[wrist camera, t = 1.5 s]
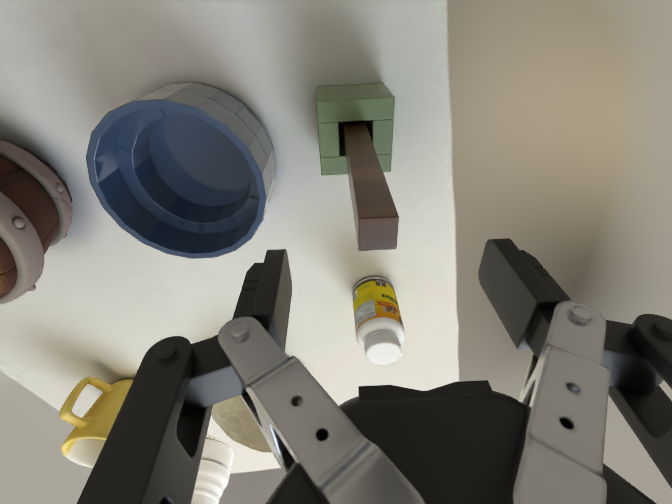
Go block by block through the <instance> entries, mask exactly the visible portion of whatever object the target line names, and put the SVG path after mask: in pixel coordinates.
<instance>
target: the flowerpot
mask: <svg viewBox="0 0 672 504" xmlns="http://www.w3.org/2000/svg"><path fill="white" fill-rule="evenodd" d="M71 203H72V198H71V195H70V193H69V190H68V188H67V185H66V183H65V182H64V181H61V180H59V179H58V177H57V172H56V171H55V170H54V169H53V168H52V167H51V166H50V165H48V164H47V163H45V162H41V161H39V160H38V159H37V157H36V156H35V155H34V154H33V153H32V152H30V151H29V150H27V149H25V148H23V147H20V146H18V145H15V144H12V143H9V142H6V141H3V140H0V304H4V303H7V302H10V301H12V300H14V299H16V298H18V297H20V296H22V295H23V294H25V293H26V292H27V291H33V290H35V289H36V286H35V283H36V282H37V281H38V279H39V278H40V276H41V274H42V271H43V266H44V254H45V253H46V251H47V249H48V247H50V246H53V245H54V244H56V243H58V242H59V241H60V240H61V239H62V238H65V237H66V236H67V231H68V229H69V226H70V224H71V220H72V205H71Z"/></svg>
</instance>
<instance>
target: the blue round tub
mask: <svg viewBox="0 0 672 504" xmlns="http://www.w3.org/2000/svg"><path fill="white" fill-rule="evenodd" d="M86 160H87V167H88V173H89V179H90V183H91V185H92V187H93V189H94V191H95V193H96V195H97V197H98V199H99V201H100V203H101V205H102V206H103V208H104V209H105V210H106V211H107V213H108V214H109V215H110V216H111V217H112V218H113V219H114V220H115V221H116V223H117V224H118V225H119V226H120V227H121V228H122V229H124V230H125V231H126V232H128V233H129V234H131V235H132V236H133V237H135V238H136V239H138V240H139V241H140V242H142V243H144V244H146V245H148V246H150V247H153V248H155V249H157V250H160V251H162V252H164V253H167V254H171V255H176V256H181V257H187V258H213V257H218V256H221V255H224V254H227V253H230V252H232V251H235V250H237V249H238V248H240V247H241V246H242V245H243V244H245V243H246V242H247V241H249V240H250V239H251V238H252V237H253V236H254V234H255V232H256V231H257V229H258V228H259V226H260V224H261V223H262V221H263V218H264V215H265V212H266V208H267V205H268V202H269V198H270V195H271V192H272V188H273V183H274V178H275V172H276V163H275V157H274V151H273V146H272V144H271V142H270V140H269V138H268V136H267V134H266V132H265V130H264V128H263V125H261V123H260V122H259V121H258V120H257V118H256V117H255V116H254V115H253V114H252V113H251V112H250V111H249V110H248V108H247V107H246V106H245V105H244V104H243V103H241V102H239V101H238V100H236V99H235V98H233V97H231V96H230V95H228V94H227V93H225V92H223V91H222V90H220V89H216V88H213V87H209V86H206V85H202V84H198V83H176V84H168V85H166V86H163V87H161V88H159V89H157V90H155V91H153V92H150V93H148V94H146V95H144V96H142V97H140V98H138V99H136V100H133V101H131V102H129V103H127V104H125V105H123V106H121V107H118V108H116V109H114V110H112V111H110V112H108V113H107V114H106V115H105V116H104V118H103V119H102V120H101V121H100V123H99V124H98V125H97V126H96V127H95V129H94V130H93V131H92V133H91V137H90V142H89V146H88V150H87V154H86Z"/></svg>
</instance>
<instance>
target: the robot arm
mask: <svg viewBox="0 0 672 504" xmlns="http://www.w3.org/2000/svg"><path fill="white" fill-rule="evenodd" d="M479 281H480V284H481V286H482V288H483V290H484V291H485V293H486V295H487V297H488V299H489V300H490V302H491V304H492V305H493V307H494V309H495V311H496V313H497V314H498V316H499V318H500V320H501V322H502V323H503V325H504V327H505V329H506V330H507V332H508V334H509V336H510V337H511V339H512V341H513V342H514V344H515V346H516V348H517V349H531V350H532V352H533V355H532V357H531V360H530V363H529V366H528V370H527V373H526V377H525V380H524V383H523V386H522V390H521V393H520V396H519V399H518V400H516V399H514V398H512V397H510V396H507V395H505V394H502V393H499V392H495V391H492V389H491V387H490V385H489V382H488V381H487V380H486V381H465V382H454V383H451V384H448V385H445V386H441V387H438V388H435V389H432V390H429V391H419V390H414V389H409V388H403V387H398V386H393V385H381V386H360V387H359V396H358V397H355V398H353V399H350V400H348V401H346V402H344V403H343V404H341V405H339V406H338V405H337V404H336V403H335V402H334V400H333V399H332V398H331V397H330V396H329V395H328V393H327V392H326V391H325V390H324V389H323V388H322V386H321V385H320V384H319V383H318V382H317V381H316V379H315V378H314V377H313V376H312V375H311V374H310V372H309V371H308V370H307V369H306V368H305V366H304V365H303V364H302V363H301V362H300V361H299V360H298V359H297V358H296V357H295V356H292V357H290V358H289V357H288V356H287V355H286V354H285V353H284V352H285V344H286V336H287V327H288V319H289V311H290V303H291V295H292V281H291V274H290V268H289V262H288V256H287V251H286V249H280V250H267V252H266V256H265V260H264V263H254V264H253V266H252V267H251V268H250V269H249V270H248V271H247V273H246V276H245V280H244V283H243V286H242V291H241V293H240V296H239V299H238V302H237V306H236V309H235V312H234V316H233V319H232V320H231V321H229V322H227V323H226V324H225V325H224V326H223V327H222V328H221V330H220V331H219V334H218V335H217V336H214V337H212V338H209V339H206V340H203V341H200V342H196V343H193V344H191V343H190V342H189V340H188V339H186V338H184V337H181V336H173V337H168V338H165V339H163V340H161V341H159V342H157V343H156V344H154V345H153V346H152V347H151V348H150V349H149V350H148V351H147V353H146V354H145V356H144V358H143V360H142V362H141V365H140V367H139V369H138V371H137V373H136V375H135V378H134V380H133V382H132V384H131V386H130V389H129V391H128V393H127V395H126V397H125V400H124V402H123V404H122V406H121V408H120V410H119V413H118V415H117V417H116V419H115V421H114V424H113V426H112V428H111V430H110V432H109V435H108V437H107V439H106V441H105V443H104V445H103V448H102V450H101V452H100V454H99V456H98V459H97V461H96V463H95V465H94V467H93V469H92V472H91V474H90V476H89V478H88V480H87V483H86V485H85V487H84V489H83V491H82V494H81V496H80V498H79V500H78V502H77V504H191V501H192V497H193V492H194V488H195V483H196V479H197V474H198V470H199V466H200V461H201V457H202V452H203V448H204V443H205V439H206V434H207V430H208V425H209V421H210V417H211V412H212V408H213V404H216V403H219V402H222V401H224V400H227V399H230V398H233V397H236V396H238V395H240V397H241V398H242V400H243V402H244V403H245V405H246V407H247V408H248V410H249V412H250V413H251V415H252V416H253V418H254V420H255V421H256V423H257V425H258V426H259V428H260V430H261V431H262V433H263V435H264V437H265V438H266V440H267V443H268V445H269V447H270V449H271V451H272V452H273V454H274V456H275V458H276V460H277V461H278V463H279V465H280V466H281V468H282V469H283V471H284V473H285V474H286V475H285V477H284V478H283V479H282V481H281V483H280V484H279V485H278V487H277V488H276V489H275V491H274V492H273V494H272V495H271V496H270V498H269V499H268V501H267V502H266V504H656V503H655V502H654V501H652V500H651V499H649V498H648V497H647V496H646V495H644V494H643V493H642V492H640V491H639V490H638V489H636V488H635V487H634V486H632V485H631V484H630V483H629V482H627V481H626V480H625V479H623V478H622V477H621V476H619V475H618V474H617V473H615V472H614V471H613V470H611V469H610V468H609V467H607V466H606V465H605V464H604V463H603V454H604V442H605V429H606V416H607V403H608V394H609V396H610V397H611V399H612V400H613V402H614V403H615V405H616V406H617V407H618V409H619V411H620V412H621V414H622V415H623V416H624V418H625V420H626V421H627V422H628V424H629V425H630V427H631V429H632V430H633V431H634V433H635V434H636V436H637V437H638V439H639V440H640V442H641V443H642V445H643V446H644V448H645V449H646V451H647V452H648V454H649V455H650V457H651V458H652V460H653V461H654V463H655V464H656V466H657V467H658V469H659V470H660V472H661V473H662V475H663V476H664V478H665V479H666V481H667V482H668V484H669V485H670V487H671V488H672V401H671V400H670V398H669V397H668V396H667V395H666V394H665V393H664V391H663V390H662V389H661V388H660V386H659V384H660V383H661V382H662V381H663V380H665V382H666V383H667V384H668V385H669V386H670V387H671V389H672V320H671V319H668V318H665V317H663V316H659V315H654V314H643V315H640V316H638V317H637V318H636V320H635V321H634V322H633V324H626V323H621V322H615V321H609V320H605V318H604V317H603V316H602V315H601V314H600V313H599V312H598V311H597V310H596V309H594V308H592V307H591V306H588V305H586V304H584V303H581V302H577V301H572V300H571V299H570V298H569V297H568V296H567V294H566V293H565V292H564V291H563V290H562V289H561V287H560V286H559V285H558V284H557V283H556V281H555V280H554V279H553V278H552V277H551V276H549V273H548V272H547V271H546V270H545V269H543V266H542V265H541V264H540V263H539V261H538V260H537V259H536V258H535V257H533V256H532V255H530V254H529V253H527V252H525V251H524V250H519V249H518V248H517V246H516V245H515V244H514V243H513V242H512V240H511V239H491V240H490V239H489V240H488V241H487V242H486V245H485V249H484V252H483V256H482V260H481V264H480V268H479Z"/></svg>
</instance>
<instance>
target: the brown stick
mask: <svg viewBox="0 0 672 504" xmlns="http://www.w3.org/2000/svg"><path fill="white" fill-rule="evenodd" d="M342 132H343V140H344V147H345V155H346V162H347V169H348V177H349V184H350V191H351V199H352V206H353V213H354V221H355V228H356V235H357V243H358V250H359V251H367V250H387V249H396V247H397V234H398V221H399V216H398V213H397V210H396V208H395V205H394V202H393V199H392V196H391V193H390V191H389V188H388V185H387V182H386V179H385V176H384V174H383V171H382V168H381V165H380V162H379V159H378V157H377V154H376V151H375V148H374V145H373V142H372V140H371V137H370V134H369V131H368V128H367V125H366V123H365V121H346V122H342Z"/></svg>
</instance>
